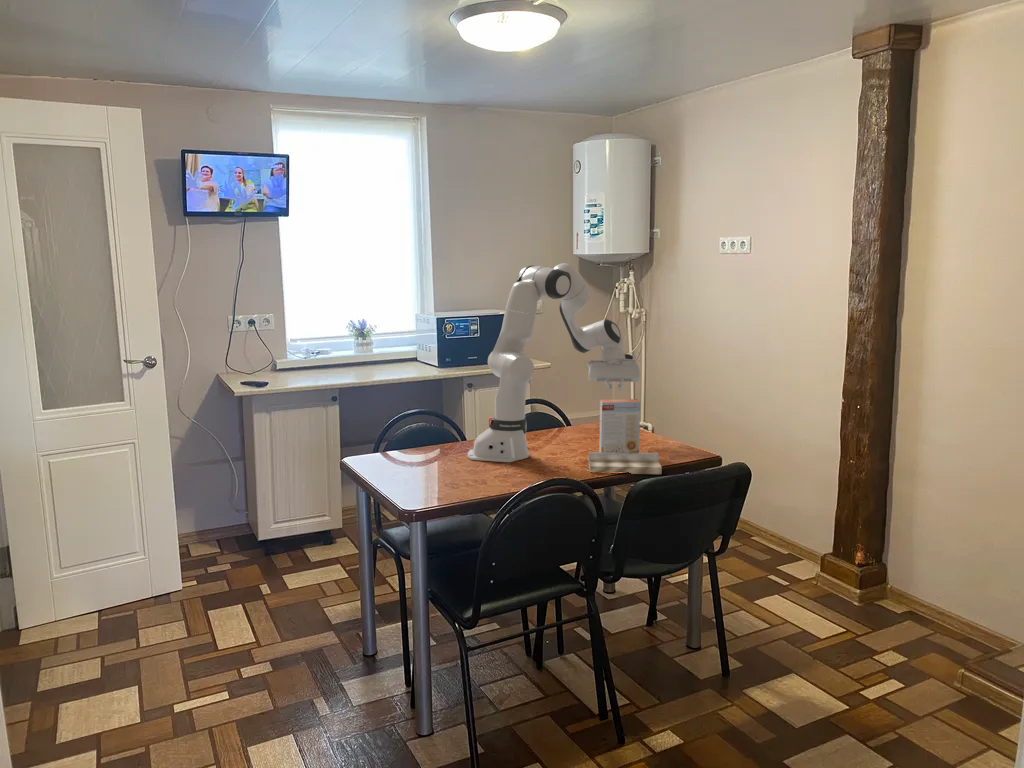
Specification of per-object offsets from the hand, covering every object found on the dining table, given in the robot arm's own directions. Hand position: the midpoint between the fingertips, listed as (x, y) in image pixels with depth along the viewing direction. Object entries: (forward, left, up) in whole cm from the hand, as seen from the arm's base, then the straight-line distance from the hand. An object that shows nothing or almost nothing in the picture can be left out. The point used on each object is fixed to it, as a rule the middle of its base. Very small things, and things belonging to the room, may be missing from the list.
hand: (614, 389), depth 300 cm
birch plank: (0, -39, -21) cm, 44 cm away
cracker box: (0, -19, -22) cm, 29 cm away
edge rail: (0, -34, -21) cm, 40 cm away
